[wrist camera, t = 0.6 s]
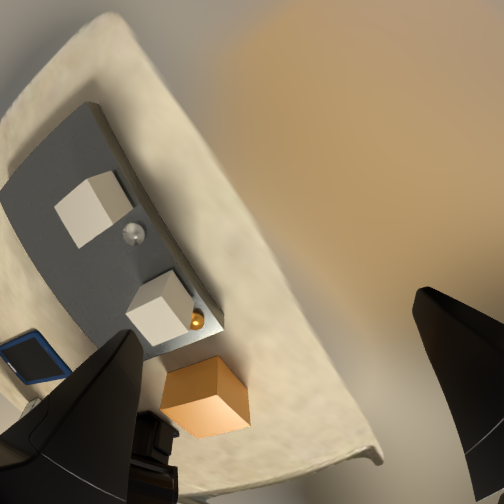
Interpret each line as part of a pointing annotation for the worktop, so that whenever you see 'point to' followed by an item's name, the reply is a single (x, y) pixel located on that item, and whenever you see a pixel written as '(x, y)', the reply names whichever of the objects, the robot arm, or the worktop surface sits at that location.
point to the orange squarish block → (206, 399)
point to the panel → (106, 243)
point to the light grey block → (161, 309)
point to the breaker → (93, 207)
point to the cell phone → (33, 359)
